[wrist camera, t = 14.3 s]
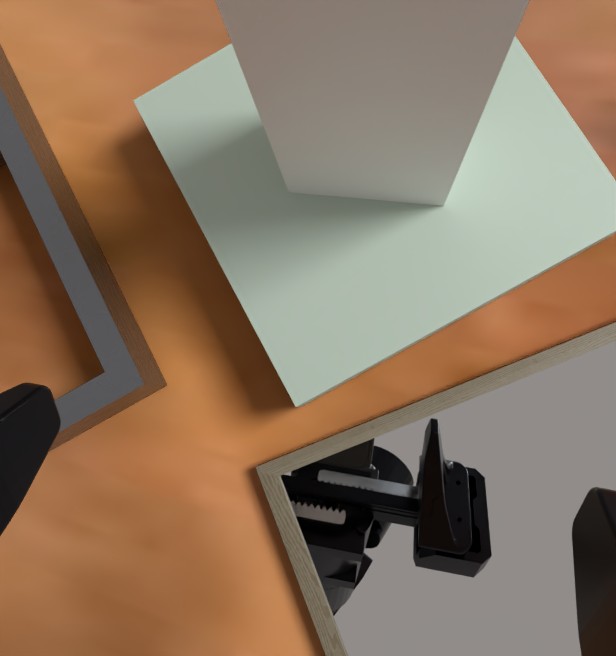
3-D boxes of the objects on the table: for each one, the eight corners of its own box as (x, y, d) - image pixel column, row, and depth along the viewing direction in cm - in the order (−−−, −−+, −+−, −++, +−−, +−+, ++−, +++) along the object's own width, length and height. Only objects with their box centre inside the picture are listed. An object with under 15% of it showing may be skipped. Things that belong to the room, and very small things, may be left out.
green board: (303, 405, 18) (295, 407, 16) (155, 129, 20) (133, 100, 18) (610, 236, 18) (640, 216, 16) (430, -30, 20) (437, -77, 18)
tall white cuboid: (288, 192, 17) (186, -76, 7) (300, 106, 18) (217, -261, 8) (443, 205, 17) (558, -67, 7) (453, 116, 17) (575, -269, 7)
